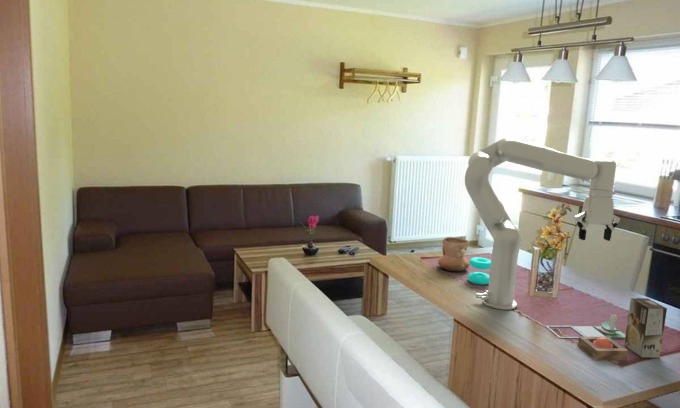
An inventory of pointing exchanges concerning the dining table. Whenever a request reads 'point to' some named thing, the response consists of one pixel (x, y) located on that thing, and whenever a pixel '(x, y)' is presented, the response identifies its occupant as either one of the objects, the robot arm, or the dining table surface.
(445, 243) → the ceramic jug
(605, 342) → the popper button
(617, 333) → the pad
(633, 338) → the coffee box
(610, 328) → the pacifier
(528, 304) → the dining table surface
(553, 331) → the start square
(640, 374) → the dining table surface
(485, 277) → the donuts
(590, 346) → the box
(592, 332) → the mid pad
